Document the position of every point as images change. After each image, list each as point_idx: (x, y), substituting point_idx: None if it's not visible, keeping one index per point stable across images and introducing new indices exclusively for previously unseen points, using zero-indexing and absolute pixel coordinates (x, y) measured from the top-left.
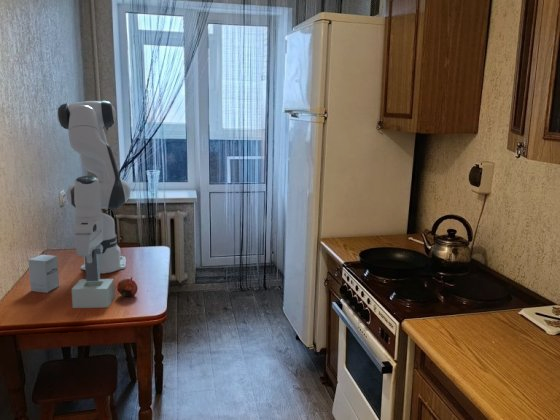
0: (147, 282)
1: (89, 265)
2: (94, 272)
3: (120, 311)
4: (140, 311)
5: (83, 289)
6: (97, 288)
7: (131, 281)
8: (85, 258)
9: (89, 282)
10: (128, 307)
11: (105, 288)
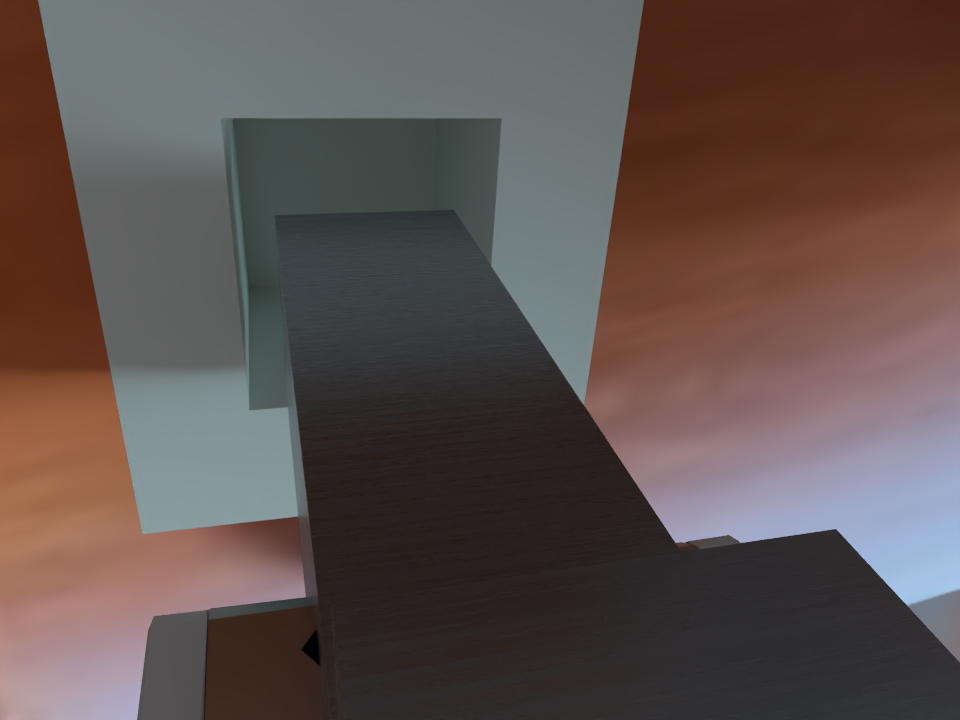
0: (809, 526)
1: (302, 518)
2: (296, 483)
3: (67, 517)
4: (95, 667)
5: (75, 176)
6: (140, 404)
7: None
8: (323, 614)
9: (492, 163)
10: (186, 553)
11: (153, 511)
